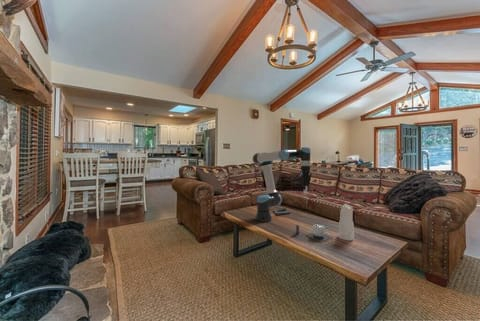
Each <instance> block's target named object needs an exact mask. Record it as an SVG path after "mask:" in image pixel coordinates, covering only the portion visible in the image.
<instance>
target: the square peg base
mask: <svg viewBox="0 0 480 321" xmlns="http://www.w3.org/2000/svg"><path fill="white" fill-rule="evenodd" d="M317 227H321V226H317ZM304 236H306V237H308V238H310V239H312V240H315V241H316V242H319V244H323V243H326V242H330V241H333V239H334V237H333V236H331V235H328V234H326V233H325V235H324V236H316V235H314V234H313V232H310V233H308V234H307V233H306V234H305V235H304ZM329 240H330V241H329Z"/></svg>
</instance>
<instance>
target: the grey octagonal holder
mask: <svg viewBox="0 0 480 321" xmlns="http://www.w3.org/2000/svg"><path fill="white" fill-rule="evenodd" d="M317 226H321V227H317ZM312 233H313V234H314V235H316V236H324V235H325V234H326V226H325V225H324V224H320V223H317V224H316V223H315V224H313V225H312Z"/></svg>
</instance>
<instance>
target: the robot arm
mask: <svg viewBox="0 0 480 321" xmlns="http://www.w3.org/2000/svg"><path fill="white" fill-rule="evenodd" d="M287 159H300V170H301V172H300V173H299V174H298V176H299V181H300V185H301V186H302V187H303V188H302V190H303V194H305V195H307V194H308V189H309V186H310V185H311V184H310V183H311V178H312V175H313V174H312V173H311V172H310V171H311V147H309V146H304V147H301V148H300V149H281V150H277V151H272V152H257V153H255V154H253V155H252V162H253V164H255V165H258V166H260V168H262V172H263V177H264V181H265V182H264V183H265V186H266V187H265V188H266V191H267V192H266V193H262V194H259V195H257V198H256V204H257V206H256V207H257V208H256V209H257V210H256V211H257V212H256V213H255V214H256V216H255V221H256V222H259V223H269V222H272V219H273V218H272V216H271V215H272V214H271V212H270V210H271V209H270V208H274V207H278V206H280V205H281V204H282V200H283V198H282V195H281V194H280V193H279V192H278V190H276V184H275V180H274V174H273V169H272V166H273V163H274V161H280V160H287Z"/></svg>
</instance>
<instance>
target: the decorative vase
mask: <svg viewBox="0 0 480 321" xmlns="http://www.w3.org/2000/svg"><path fill="white" fill-rule="evenodd" d="M339 212H340V214H339V215H340V216H339V221H338V231H337V233H338V234H337V235H338V238H339V239H341V240H344V241H354V240H355V232H354V230H355V228H354V226H355V225H354V224H355V223H354V221H353V220H354V219H353V218H354V217H353V206H352V205H349V204H348V203H344V204H343V205H342V207H341V208H340V211H339Z"/></svg>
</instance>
